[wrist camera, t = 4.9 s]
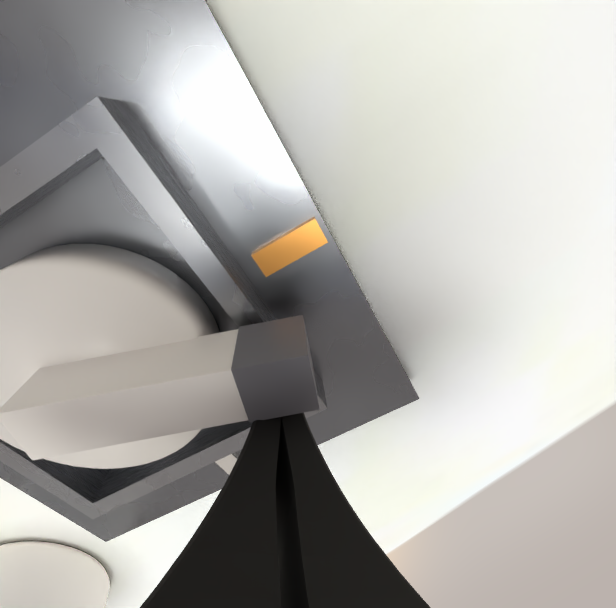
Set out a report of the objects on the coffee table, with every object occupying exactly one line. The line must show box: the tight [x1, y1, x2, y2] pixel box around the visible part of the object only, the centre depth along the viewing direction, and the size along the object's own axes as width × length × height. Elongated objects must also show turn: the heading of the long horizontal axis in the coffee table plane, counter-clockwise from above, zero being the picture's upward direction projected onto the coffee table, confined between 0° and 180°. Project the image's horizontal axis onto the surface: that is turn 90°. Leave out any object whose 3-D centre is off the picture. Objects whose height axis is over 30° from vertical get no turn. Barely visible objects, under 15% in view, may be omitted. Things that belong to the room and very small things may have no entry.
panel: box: [0, 0, 419, 542], centre depth 13 cm, size 18×18×3 cm
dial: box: [0, 244, 320, 469], centre depth 11 cm, size 11×8×4 cm
